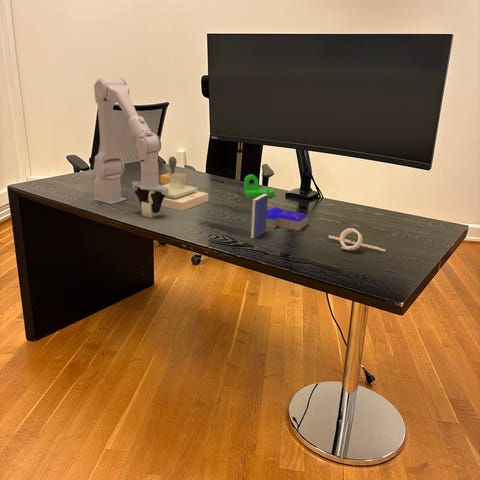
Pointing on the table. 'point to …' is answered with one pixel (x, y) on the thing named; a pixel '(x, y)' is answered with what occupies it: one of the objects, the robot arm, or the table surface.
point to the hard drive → (259, 215)
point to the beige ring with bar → (357, 245)
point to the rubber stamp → (166, 177)
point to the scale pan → (178, 191)
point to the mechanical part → (255, 188)
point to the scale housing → (184, 200)
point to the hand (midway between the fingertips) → (150, 211)
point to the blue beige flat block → (285, 219)
